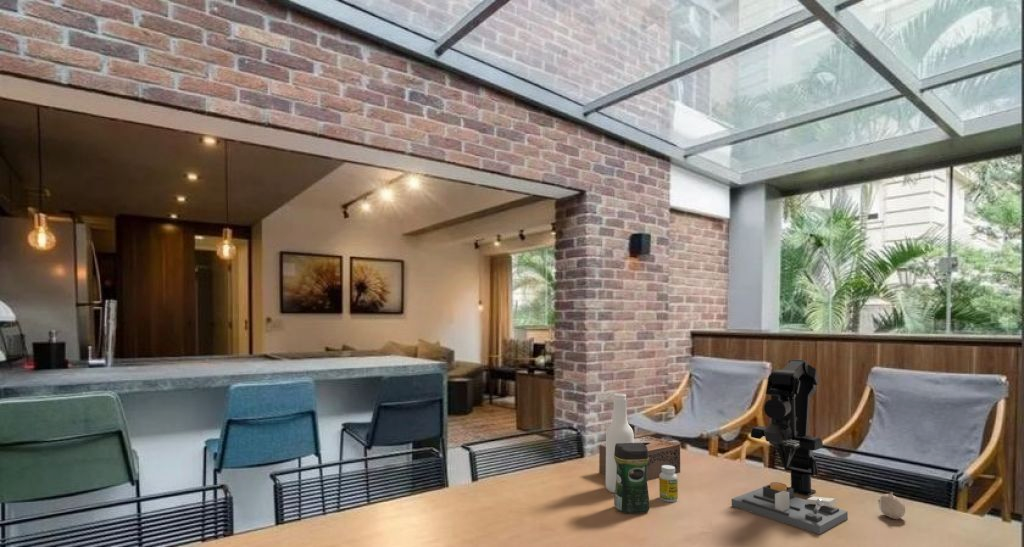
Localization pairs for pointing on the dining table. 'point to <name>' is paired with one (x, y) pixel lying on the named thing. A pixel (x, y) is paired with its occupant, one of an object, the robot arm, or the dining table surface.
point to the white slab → (826, 500)
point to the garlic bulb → (891, 506)
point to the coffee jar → (631, 478)
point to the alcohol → (616, 438)
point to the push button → (778, 486)
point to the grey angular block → (782, 501)
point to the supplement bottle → (668, 484)
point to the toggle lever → (818, 505)
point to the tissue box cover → (651, 456)
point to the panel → (790, 510)
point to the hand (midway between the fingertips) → (786, 466)
